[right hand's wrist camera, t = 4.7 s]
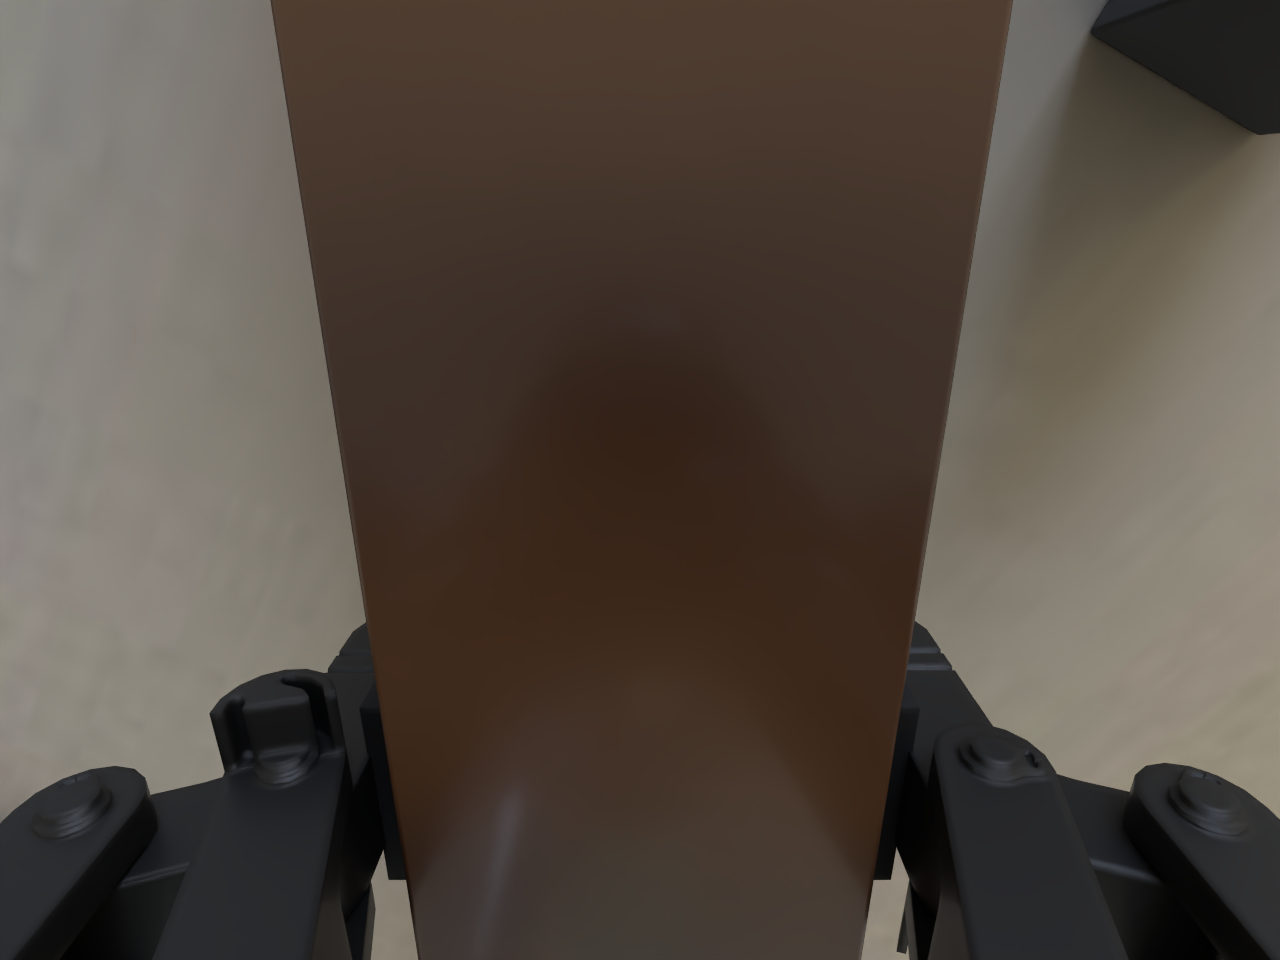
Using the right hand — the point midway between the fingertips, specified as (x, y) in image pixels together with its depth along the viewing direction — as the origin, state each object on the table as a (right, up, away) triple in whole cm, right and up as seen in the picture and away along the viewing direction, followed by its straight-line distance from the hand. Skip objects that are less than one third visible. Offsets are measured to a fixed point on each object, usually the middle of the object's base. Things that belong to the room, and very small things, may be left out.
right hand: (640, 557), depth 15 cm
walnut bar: (0, +9, -3) cm, 9 cm away
